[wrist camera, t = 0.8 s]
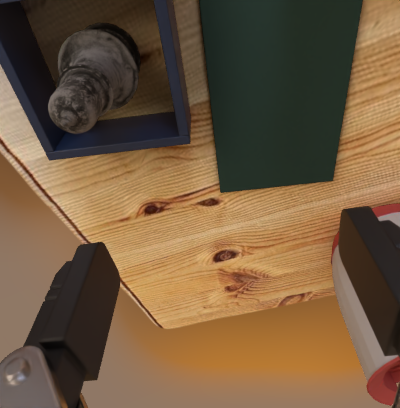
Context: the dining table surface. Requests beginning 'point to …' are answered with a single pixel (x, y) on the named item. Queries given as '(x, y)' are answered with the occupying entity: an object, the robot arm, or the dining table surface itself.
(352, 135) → the dining table surface
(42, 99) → the crate
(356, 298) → the citrus juicer
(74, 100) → the grey flared post
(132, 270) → the dining table surface
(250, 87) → the mat
